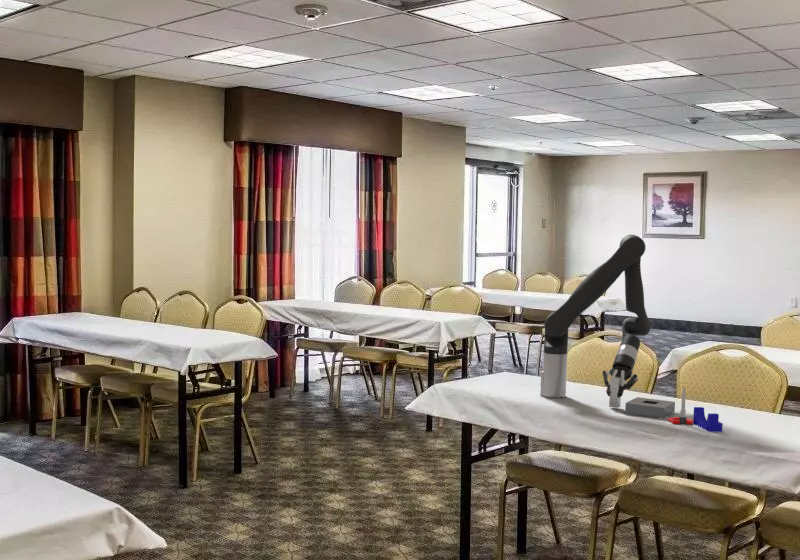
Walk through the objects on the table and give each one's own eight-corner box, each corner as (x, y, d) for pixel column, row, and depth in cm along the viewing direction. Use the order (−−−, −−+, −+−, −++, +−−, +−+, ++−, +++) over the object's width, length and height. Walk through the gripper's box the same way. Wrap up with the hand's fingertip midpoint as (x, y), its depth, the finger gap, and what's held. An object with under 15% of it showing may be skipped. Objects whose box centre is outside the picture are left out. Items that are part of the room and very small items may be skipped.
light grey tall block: (609, 406, 324) (610, 377, 323) (611, 405, 327) (613, 376, 326) (617, 407, 322) (619, 378, 322) (620, 406, 325) (621, 377, 324)
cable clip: (722, 432, 290) (723, 414, 290) (709, 432, 290) (710, 414, 289) (705, 424, 302) (706, 407, 302) (693, 424, 301) (693, 407, 301)
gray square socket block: (625, 413, 315) (625, 402, 315) (636, 407, 327) (637, 397, 327) (664, 419, 308) (664, 407, 308) (674, 412, 320) (675, 401, 319)
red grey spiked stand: (666, 419, 309) (670, 424, 300) (667, 383, 309) (671, 386, 300) (690, 421, 308) (695, 425, 299) (692, 384, 308) (697, 388, 298)
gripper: (605, 351, 333) (593, 387, 324) (642, 355, 326) (630, 392, 316) (609, 363, 338) (597, 399, 329) (645, 367, 331) (634, 404, 321)
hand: (613, 395), depth 322 cm, fingers closed on light grey tall block, 3 cm apart
